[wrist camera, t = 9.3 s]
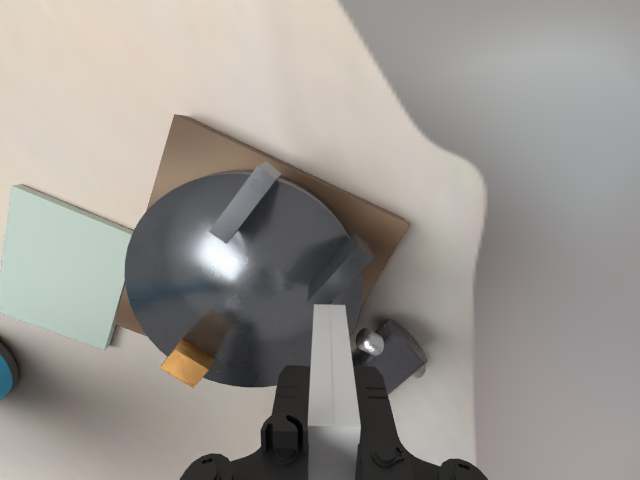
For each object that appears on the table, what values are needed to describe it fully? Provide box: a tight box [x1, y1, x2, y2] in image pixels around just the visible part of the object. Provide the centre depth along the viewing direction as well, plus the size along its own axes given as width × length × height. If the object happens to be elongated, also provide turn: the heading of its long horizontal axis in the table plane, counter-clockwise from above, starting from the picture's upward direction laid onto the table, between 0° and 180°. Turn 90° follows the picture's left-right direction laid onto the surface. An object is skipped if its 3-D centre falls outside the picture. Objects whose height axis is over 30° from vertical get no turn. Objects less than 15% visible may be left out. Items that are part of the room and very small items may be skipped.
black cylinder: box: [352, 320, 427, 394], centre depth 23 cm, size 6×4×14 cm
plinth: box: [114, 114, 409, 336], centre depth 21 cm, size 15×15×2 cm
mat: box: [0, 184, 134, 350], centre depth 22 cm, size 10×8×1 cm
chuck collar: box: [124, 161, 374, 388], centre depth 18 cm, size 14×14×4 cm
